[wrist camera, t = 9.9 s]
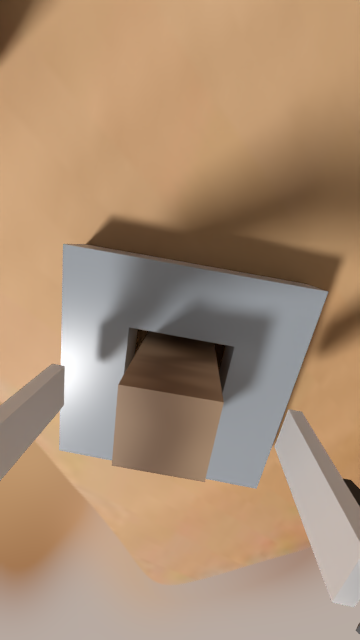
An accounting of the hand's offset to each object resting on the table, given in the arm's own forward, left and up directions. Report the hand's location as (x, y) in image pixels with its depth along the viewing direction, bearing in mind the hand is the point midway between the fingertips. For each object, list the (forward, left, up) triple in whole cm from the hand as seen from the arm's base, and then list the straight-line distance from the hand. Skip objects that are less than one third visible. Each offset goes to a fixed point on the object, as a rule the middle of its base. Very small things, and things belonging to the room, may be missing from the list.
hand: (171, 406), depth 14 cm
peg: (0, 0, -6) cm, 6 cm away
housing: (0, 0, -6) cm, 6 cm away
